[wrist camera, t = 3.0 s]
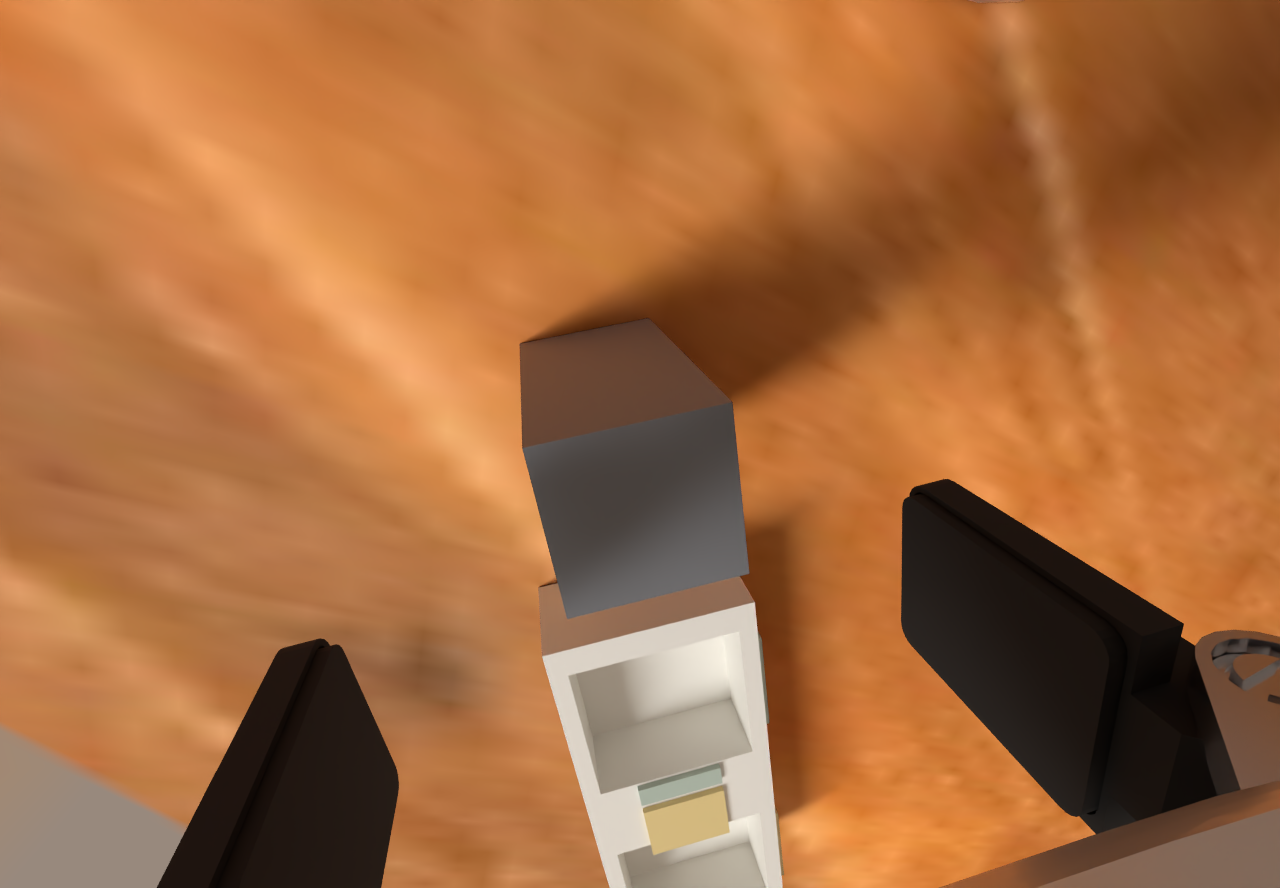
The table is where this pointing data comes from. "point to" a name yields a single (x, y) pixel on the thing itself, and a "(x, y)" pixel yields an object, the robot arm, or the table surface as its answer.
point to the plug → (630, 466)
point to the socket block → (669, 735)
